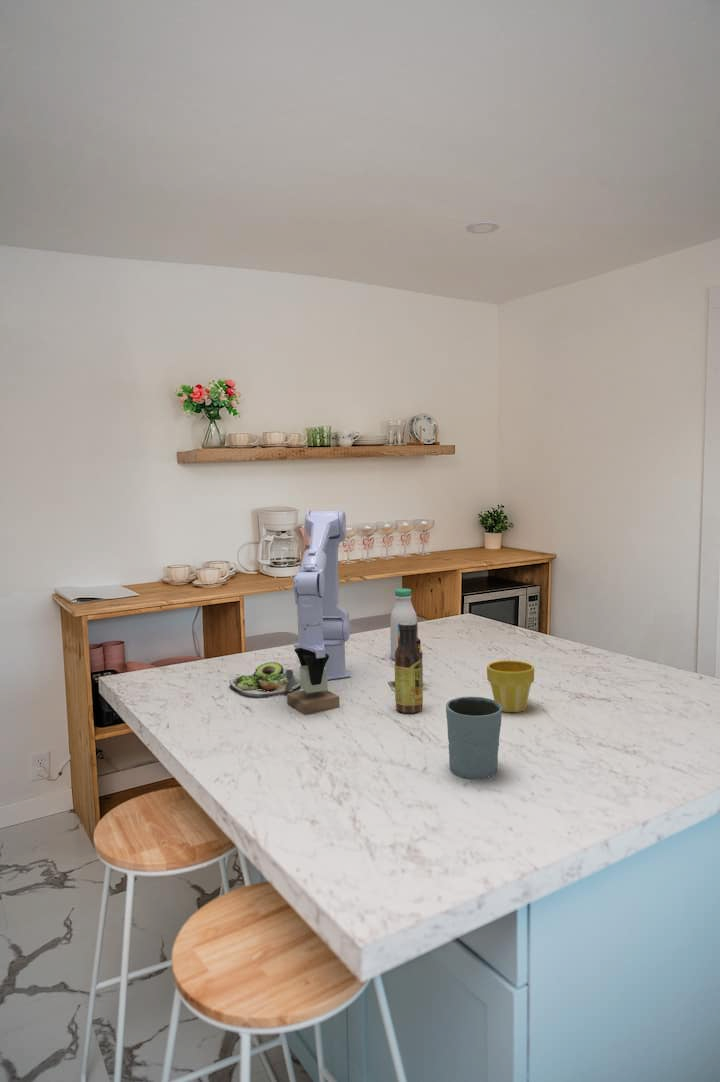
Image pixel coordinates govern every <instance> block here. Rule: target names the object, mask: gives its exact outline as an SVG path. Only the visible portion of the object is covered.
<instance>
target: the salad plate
mask: <svg viewBox="0 0 720 1082" xmlns="http://www.w3.org/2000/svg"><path fill="white" fill-rule="evenodd" d="M229 685H230V688H231V689H233V690H234V691H236V692H238V693H240V694H242V695H244V694H245V696H247V695H248V697H252V698H269V697H268V696H270V697H274V695H275V696H278V695H279V694H280V695H285V694H288V692H289V693H293V691H294V690H295V689H297V688H299V687H301V686H300V677H296V676H294V671H293V670H292V669H286V670H284V666H282V664H281V663H279V662H276V661H275V662H274V661H271V662H266V663H263V664H260V665H258V666H257V668H255V670H254V673H253V674H246V675H245V674H243V675H241V676H236V677H233V678H232V679H230V682H229ZM256 689H262V690H261V691H264V690H265V691H269V692H265V691H264V692H256V691H257V690H256ZM243 690H244V691H243ZM252 691H255V692H252Z"/></svg>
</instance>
